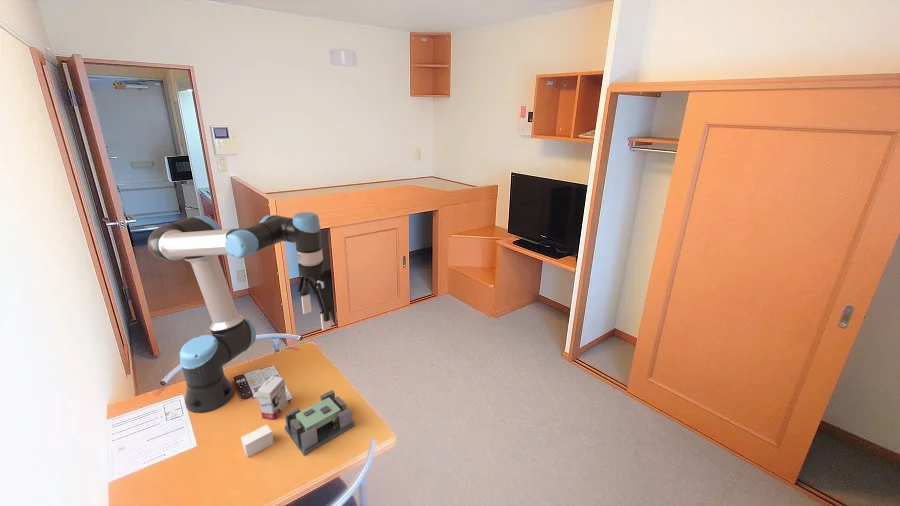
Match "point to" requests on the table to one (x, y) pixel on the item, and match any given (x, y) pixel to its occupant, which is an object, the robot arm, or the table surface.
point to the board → (318, 414)
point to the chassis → (325, 433)
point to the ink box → (272, 397)
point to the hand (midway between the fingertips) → (316, 320)
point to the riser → (257, 440)
